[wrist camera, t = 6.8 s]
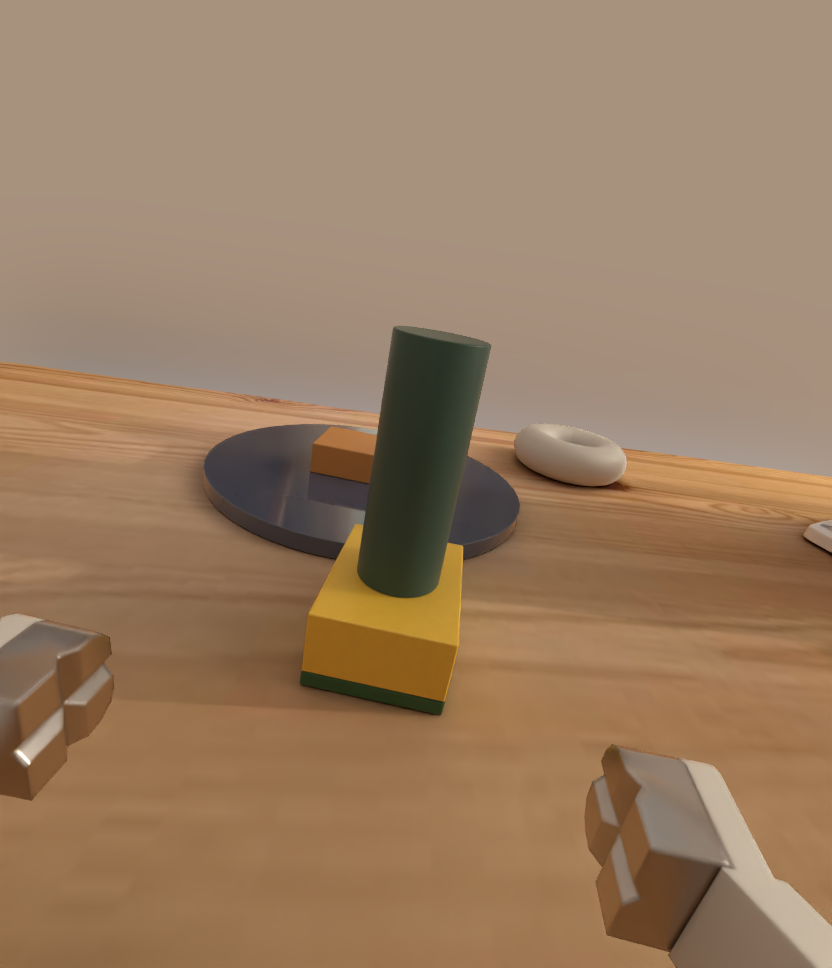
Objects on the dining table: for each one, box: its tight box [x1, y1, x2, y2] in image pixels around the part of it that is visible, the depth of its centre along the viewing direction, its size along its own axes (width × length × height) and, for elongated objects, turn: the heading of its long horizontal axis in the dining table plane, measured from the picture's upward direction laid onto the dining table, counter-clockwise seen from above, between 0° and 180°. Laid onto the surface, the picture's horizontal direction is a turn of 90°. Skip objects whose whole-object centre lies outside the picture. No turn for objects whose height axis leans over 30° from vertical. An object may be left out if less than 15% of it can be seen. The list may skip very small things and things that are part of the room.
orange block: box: [310, 426, 377, 484], centre depth 34 cm, size 4×4×2 cm
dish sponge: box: [300, 326, 491, 715], centre depth 18 cm, size 7×5×12 cm
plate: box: [203, 424, 520, 559], centre depth 35 cm, size 21×21×1 cm
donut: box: [514, 424, 627, 486], centre depth 46 cm, size 10×3×10 cm
